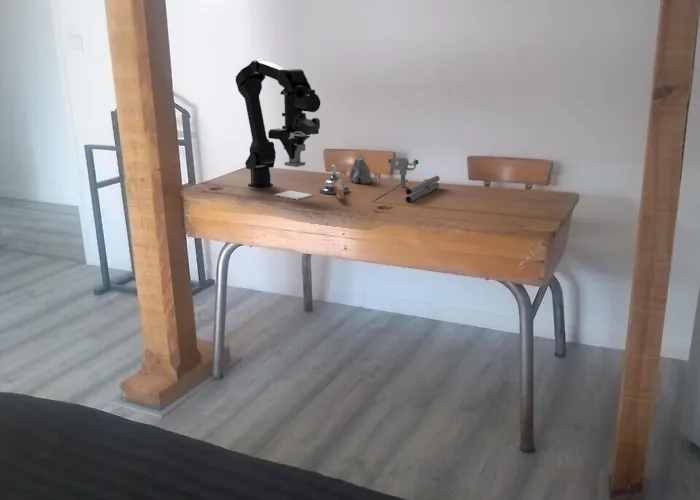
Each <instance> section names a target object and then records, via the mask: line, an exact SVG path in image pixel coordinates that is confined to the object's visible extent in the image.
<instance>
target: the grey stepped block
mask: <svg viewBox="0 0 700 500" xmlns="http://www.w3.org/2000/svg"><path fill="white" fill-rule="evenodd" d="M283 150H285V148H284V147H283ZM300 151H301V152H304V151H305V152H306V144H305V143H304V144H299V143H294V156H293V159H290V158H289V157H288V161H284V166H288V167H294V168H298V167H303V166H306V161H301V153H300Z"/></svg>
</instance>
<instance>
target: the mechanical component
mask: <svg viewBox="0 0 700 500" xmlns="http://www.w3.org/2000/svg"><path fill="white" fill-rule="evenodd" d="M396 162H397V163H398V164H396ZM388 164H390V168H391V170H394V171H395V170H397V171H399V174H398V175H400V187H401V188H405V187H406V175H407V171H414V170H415V169H416V168H417V165H419V159H416V158H414V159H413V161H412V163H411V162H410V160H409V159H408V158H407V157H391V158H388ZM408 166H413V167H408Z"/></svg>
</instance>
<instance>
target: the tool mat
mask: <svg viewBox="0 0 700 500" xmlns="http://www.w3.org/2000/svg"><path fill="white" fill-rule="evenodd" d="M274 196H275V197H278V196H280V197H279V198H283V199H289V198H290V199H289V200H294V199H296V200H295V201H299V199H300V200H303V199H307V198H311V197H313V194H311V193H305V192H299V191H293V190H286V191H282V192H278V193H275V194H274Z"/></svg>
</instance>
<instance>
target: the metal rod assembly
mask: <svg viewBox="0 0 700 500" xmlns="http://www.w3.org/2000/svg"><path fill="white" fill-rule="evenodd" d="M440 179H441V178H440V176H439V175H434V176H433V177H430V178H426V179H424V180H422V181H421V182H419V183H416V184H415V185H413V186H410V187H408V188H406V190H405V194H406V195H407V196H406V197H405V198H404V200H405V202H406V203H411V202H413V201H416V200H417V199H419V198H421V197H422V196H425V195H429V194H430V193H431V192H432V191H434V190H436V189H438V188H440V183H439V182H438V181H440Z"/></svg>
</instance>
